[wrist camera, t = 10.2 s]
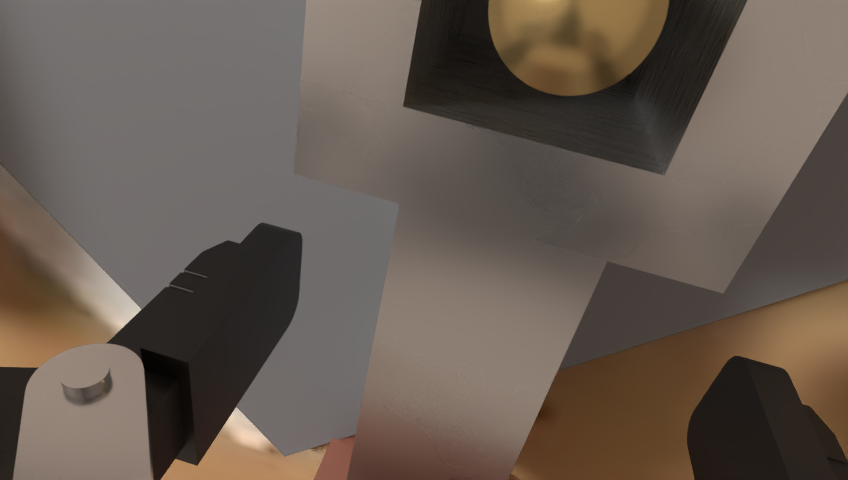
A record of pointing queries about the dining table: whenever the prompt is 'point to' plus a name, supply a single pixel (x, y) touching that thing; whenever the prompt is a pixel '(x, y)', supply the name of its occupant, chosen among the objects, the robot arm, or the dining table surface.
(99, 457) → the robot arm
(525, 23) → the knob
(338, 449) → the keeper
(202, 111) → the board
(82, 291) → the dining table surface
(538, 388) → the grey long bar
